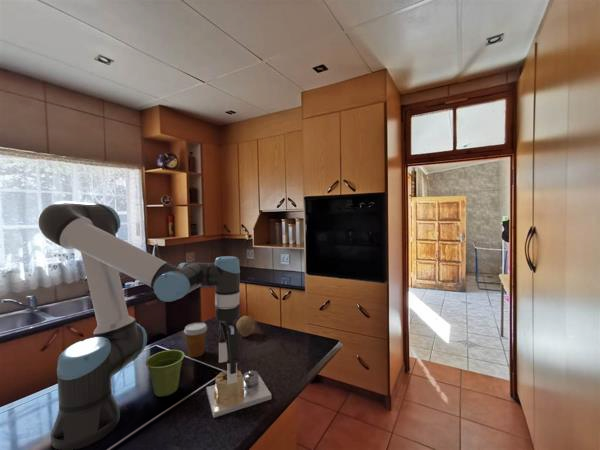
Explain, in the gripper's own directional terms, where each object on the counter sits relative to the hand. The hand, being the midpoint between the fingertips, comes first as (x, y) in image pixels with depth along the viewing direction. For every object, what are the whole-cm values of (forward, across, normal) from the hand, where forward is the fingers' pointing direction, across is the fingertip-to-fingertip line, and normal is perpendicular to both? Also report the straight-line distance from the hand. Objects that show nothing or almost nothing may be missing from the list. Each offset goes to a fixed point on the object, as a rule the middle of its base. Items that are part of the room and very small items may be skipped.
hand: (227, 371), depth 89 cm
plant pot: (+10, +15, +17) cm, 25 cm away
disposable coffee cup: (+10, +38, +5) cm, 39 cm away
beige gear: (+8, 0, -1) cm, 8 cm away
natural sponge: (+10, +46, -19) cm, 50 cm away
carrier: (+9, +1, -4) cm, 10 cm away
